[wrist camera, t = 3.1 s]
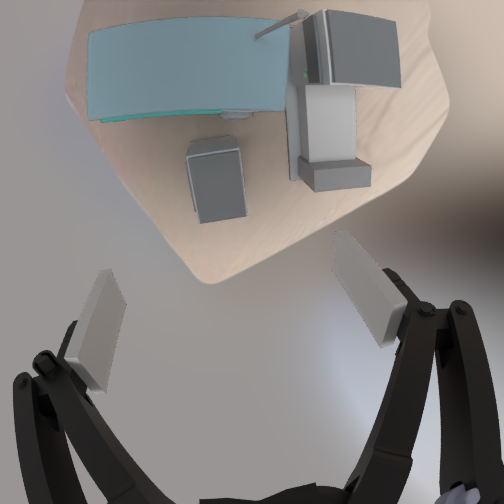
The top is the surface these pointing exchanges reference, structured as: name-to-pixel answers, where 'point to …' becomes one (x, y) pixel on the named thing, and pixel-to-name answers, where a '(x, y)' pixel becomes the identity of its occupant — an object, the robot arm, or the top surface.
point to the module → (216, 179)
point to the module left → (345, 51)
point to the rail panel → (319, 123)
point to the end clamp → (335, 174)
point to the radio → (188, 67)
